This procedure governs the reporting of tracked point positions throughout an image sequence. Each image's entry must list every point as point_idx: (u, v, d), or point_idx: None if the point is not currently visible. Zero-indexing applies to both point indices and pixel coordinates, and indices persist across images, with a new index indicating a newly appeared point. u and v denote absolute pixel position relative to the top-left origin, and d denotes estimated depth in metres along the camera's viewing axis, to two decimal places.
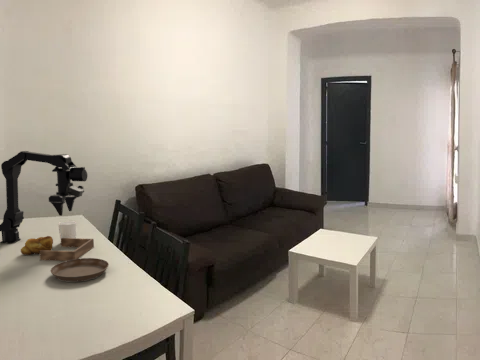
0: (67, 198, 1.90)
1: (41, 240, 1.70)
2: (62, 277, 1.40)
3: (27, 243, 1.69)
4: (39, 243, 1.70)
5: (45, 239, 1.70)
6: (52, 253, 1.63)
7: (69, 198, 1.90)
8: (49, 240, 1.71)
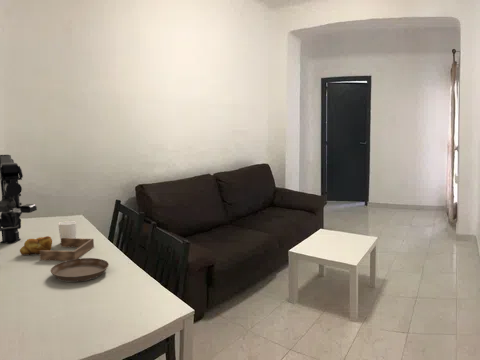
0: None
1: (40, 240, 1.70)
2: (62, 277, 1.40)
3: (26, 243, 1.69)
4: (38, 244, 1.69)
5: (44, 239, 1.70)
6: (52, 253, 1.63)
7: None
8: (48, 240, 1.71)
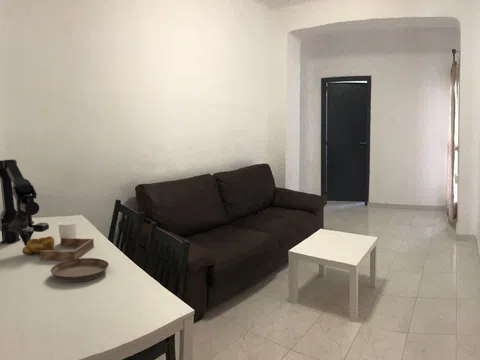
0: None
1: (42, 240, 1.70)
2: (62, 277, 1.40)
3: (28, 243, 1.68)
4: (40, 244, 1.69)
5: (46, 239, 1.70)
6: (52, 253, 1.63)
7: None
8: (50, 240, 1.70)
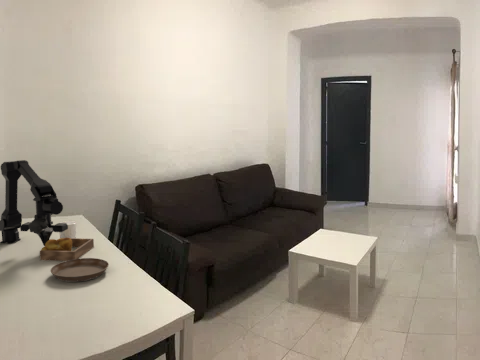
0: None
1: (60, 241, 1.68)
2: (62, 277, 1.40)
3: (46, 244, 1.68)
4: (57, 245, 1.68)
5: (63, 240, 1.68)
6: (52, 253, 1.63)
7: None
8: (67, 242, 1.68)
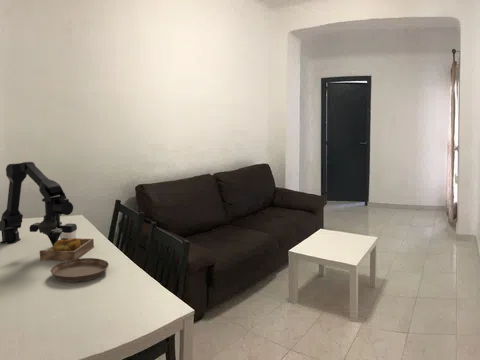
0: None
1: (68, 242, 1.68)
2: (62, 277, 1.40)
3: (55, 244, 1.68)
4: (65, 245, 1.67)
5: (71, 241, 1.67)
6: (52, 253, 1.63)
7: None
8: (75, 243, 1.67)
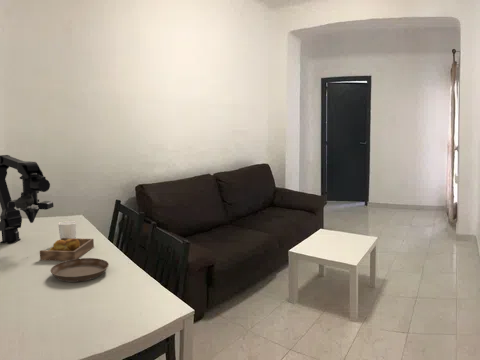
0: None
1: (67, 242, 1.68)
2: (62, 277, 1.40)
3: (54, 244, 1.68)
4: (65, 246, 1.67)
5: (70, 242, 1.67)
6: (52, 253, 1.63)
7: None
8: (74, 243, 1.67)
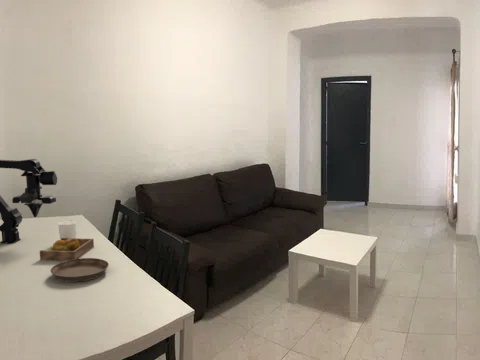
0: None
1: (67, 242, 1.67)
2: (62, 277, 1.40)
3: (54, 244, 1.68)
4: (64, 246, 1.67)
5: (70, 242, 1.67)
6: (52, 253, 1.63)
7: None
8: (74, 243, 1.67)
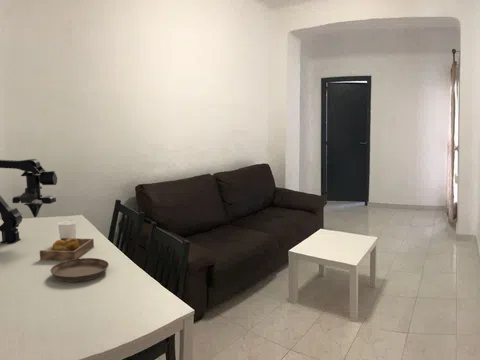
0: None
1: (66, 242, 1.67)
2: (62, 277, 1.40)
3: (54, 244, 1.68)
4: (64, 246, 1.67)
5: (70, 242, 1.67)
6: (52, 253, 1.63)
7: None
8: (73, 243, 1.67)
